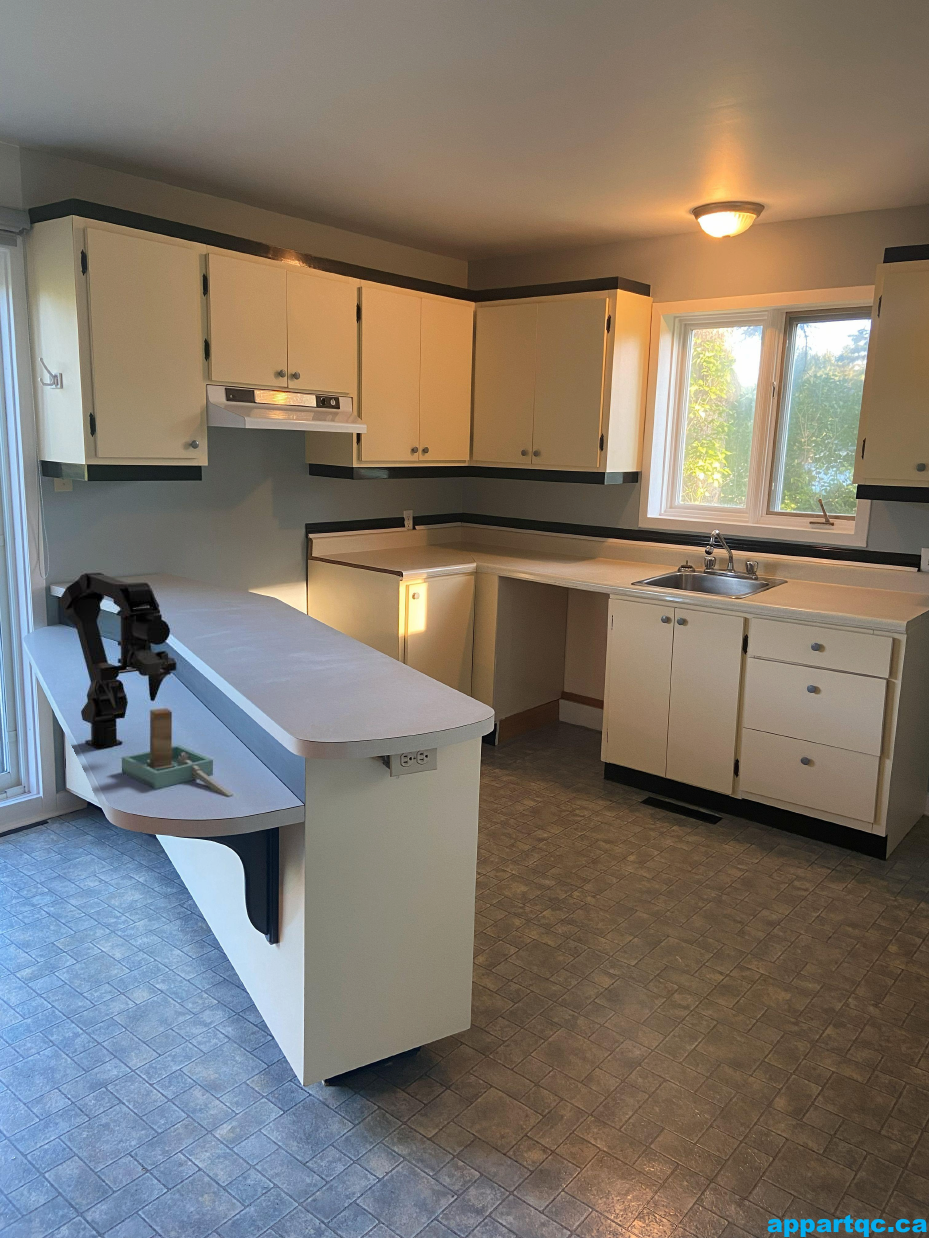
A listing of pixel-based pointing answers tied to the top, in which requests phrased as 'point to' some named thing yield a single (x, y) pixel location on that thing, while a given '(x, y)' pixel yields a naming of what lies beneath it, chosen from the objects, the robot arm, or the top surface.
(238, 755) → the top surface
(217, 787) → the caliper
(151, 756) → the tall tan wooden block
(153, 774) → the tray
